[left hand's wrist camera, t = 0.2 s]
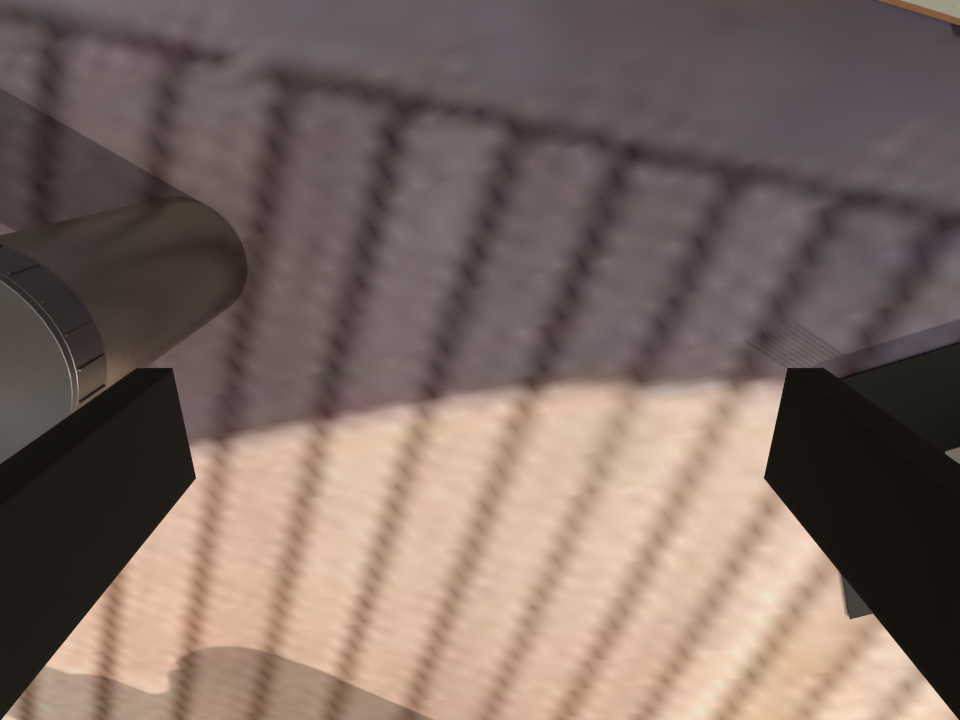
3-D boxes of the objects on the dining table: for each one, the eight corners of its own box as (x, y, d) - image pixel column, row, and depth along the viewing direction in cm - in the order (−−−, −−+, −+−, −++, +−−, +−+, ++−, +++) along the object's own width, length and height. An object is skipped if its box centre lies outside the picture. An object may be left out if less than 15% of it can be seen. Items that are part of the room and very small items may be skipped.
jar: (123, 303, 41) (-139, 434, 23) (123, 184, 38) (-178, 233, 20) (242, 328, 41) (72, 473, 24) (251, 213, 38) (65, 284, 21)
